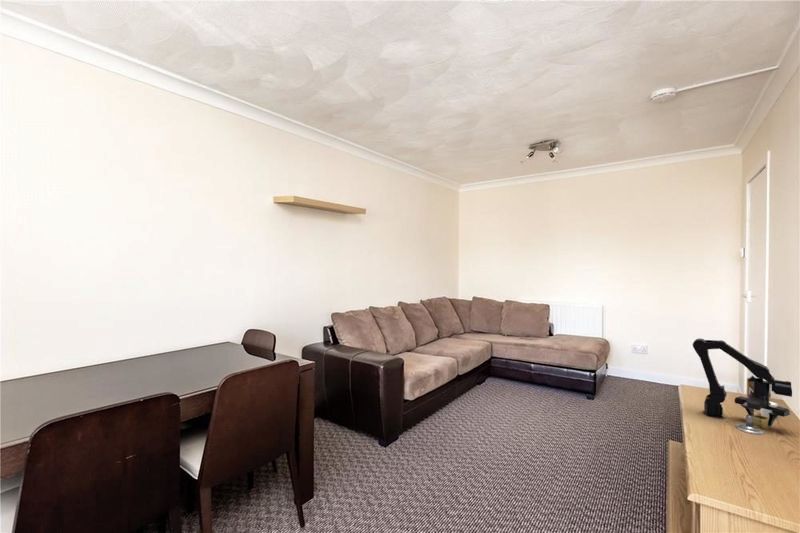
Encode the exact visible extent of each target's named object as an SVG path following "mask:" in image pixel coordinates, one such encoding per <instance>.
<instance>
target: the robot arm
mask: <svg viewBox="0 0 800 533" xmlns="http://www.w3.org/2000/svg"><path fill="white" fill-rule="evenodd" d="M692 347H693V349H694V351H695V353H696V355H698V358H699V359H700V362H701V365H702V368H703V370H704V373H705V377H706V379H707V382H708V386H709V394H706V395H705V399H704V401H703V402H704V403H703V406H704V407H703V408H704V409H703V410H702V413H704V414H705V415H706V416H707V417H712V418H713V417H714V418H722V419H723V418H724V416H723V411H724V407H723V406H722V404H723V403H724V402H725V400H726V398H727V391H726V390H725V385H721V384H720V383H719V381H718V380H719V379H718V378H717V374H716V373H715V370H714V366H713V364H712V361H711V358H710V355H709V353H710V351H709V350H721V351H722V352H724V353H726V354H727V355H728V356H730V357H731V358H732V359H735V360H736V361H737V362H739V364H742V365H744V367H745V368H747V370H748V371H749V372H750V373H751V374H753V375H751V376H750V377H748V381H753V393H752V394H751V397H750V398H747V396H741V395H740V396H737V397H735V398H734V403H735V404H737V405H740V407H742V408H743V409H745V410H746V412H747V415H753V414H755V413H754V412H755V410H756V411H760V409H761V408H763V409H767V410H771V413H768V414H769V426H773V424H774V422H775V420H776V419H777V418H778V417H783V418H784V417H787V416H790V414H791V412H790V410H789V408H787V407H783V406H779V405H778V406H777V407H771V406H769V405H771V403H769V397H771V396H772V393H771V394H769V393H770V384H771V392H773V393H774V395H778V396H784V397H790V398H792V397H793V390H792V389H793V388H792V382H791V381H788V380H778V379H775V377H774V376H773V375H772V374H771V372H770V369H769V368H768V366H766V365H764V364H762V363H761V362H758V361H756V360H753V359H752V358H749V357H748V356H746V355H745V354H743V353H742V352H741V351H739V350H737V349H736V348H735V347H733V346H731V345H729V344H728V343H727V342H726V341H724V340H716V339H715V340H714V339H712V340H711V339H704V338H697V339H695V340H694V341H693V343H692ZM721 403H722V404H721Z"/></svg>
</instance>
